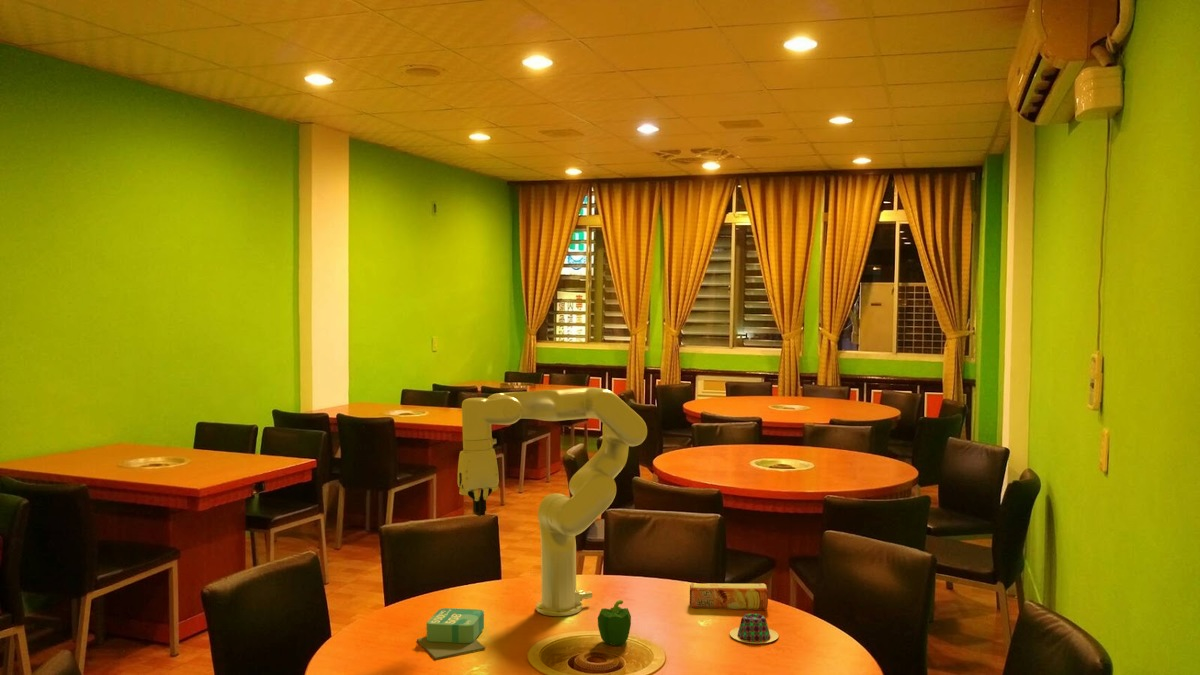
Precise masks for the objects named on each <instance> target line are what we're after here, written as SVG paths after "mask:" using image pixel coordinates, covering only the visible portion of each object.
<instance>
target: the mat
mask: <svg viewBox="0 0 1200 675" xmlns="http://www.w3.org/2000/svg"><path fill="white" fill-rule="evenodd" d="M416 642H417V643H419V645H420V646H421V647H422V648H424V650H425V651H426V652H428V654H429V655H430V656H431V657H432V658H433V659H434V661H435V660H441V659H445V658H451V657H454V656H455V657H456V656H461V655H466V654H470V652H471V653H474V651H476V652H479V651H478V650H480V651H484V650H483V649H485V650H486V647H485V646H484V645H483V644H482V643H480V641H479V640H477V638H476V639H475V640H474V642H472V643H445V642H429V641H427V636H425V637H419V638H417V639H416Z"/></svg>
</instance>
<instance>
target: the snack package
mask: <svg viewBox="0 0 1200 675" xmlns="http://www.w3.org/2000/svg"><path fill="white" fill-rule="evenodd" d="M768 604H769V591H768V587H767V584H765V583H714V582H713V583H696V582H693V583H692V582H691V584H690V585H689V606H690V607H691V608H692V609H720V610H721V609H722V610H724V609H725V610H748V611H749V610H750V611H751V610H752V611H766V610H768Z"/></svg>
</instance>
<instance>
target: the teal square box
mask: <svg viewBox="0 0 1200 675" xmlns="http://www.w3.org/2000/svg"><path fill="white" fill-rule="evenodd" d="M484 629H485V612H484V610H483V609H472V608H471V609H470V608H453V607H452V608H451V607H450V608H448V607H445V608H440V609H438V610H437V611H436V612H435V614H433V616H431V618H429V619H428V620H427V621H426V637H427V641H429V642H445V643H472V642H474V640H475V639H476V640H477V638H478V637H479V635H480V634H481V633H482V631H483V630H484Z"/></svg>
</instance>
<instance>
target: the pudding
mask: <svg viewBox="0 0 1200 675" xmlns="http://www.w3.org/2000/svg"><path fill="white" fill-rule="evenodd" d="M729 636H730V637H731V638H733V639H734V640H735V641H738V642H743V643H747V644H767V643H771V642H774V641H776V640H777V639H779V633H778V632H777V631H775V630H774V629H772V628H769V626H768V621H767V618H766V617H765V616H764V614H763V615H762V614H760V613H755V612H754V613H752V612H751V613H745V614H744V615H742V617H741V620H740V623H739V626H738V627H734V628H732V629H731V630H730V631H729Z"/></svg>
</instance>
